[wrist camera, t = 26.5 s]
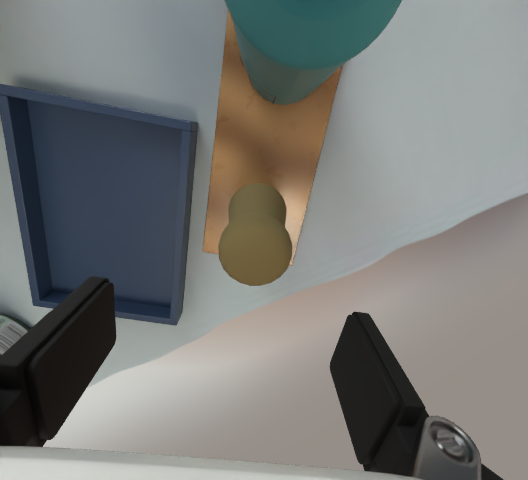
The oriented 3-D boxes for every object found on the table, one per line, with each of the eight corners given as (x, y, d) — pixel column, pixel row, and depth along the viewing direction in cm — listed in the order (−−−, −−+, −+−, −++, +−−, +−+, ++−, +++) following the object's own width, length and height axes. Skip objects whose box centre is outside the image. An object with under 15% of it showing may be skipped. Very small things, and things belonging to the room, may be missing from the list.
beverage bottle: (328, 94, 23) (591, -52, 5) (257, 119, 24) (241, 77, 5) (311, 5, 21) (695, -980, 2) (232, 36, 22) (54, -539, 3)
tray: (19, 87, 23) (-6, 82, 21) (198, 122, 24) (191, 121, 22) (49, 293, 31) (32, 305, 29) (182, 312, 32) (176, 325, 30)
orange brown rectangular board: (231, -13, 21) (231, -16, 20) (353, 16, 22) (355, 14, 21) (203, 250, 29) (202, 251, 29) (291, 264, 30) (291, 266, 30)
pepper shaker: (282, 178, 26) (296, 208, 16) (290, 235, 28) (305, 293, 18) (222, 188, 26) (197, 223, 16) (234, 243, 29) (219, 305, 18)
